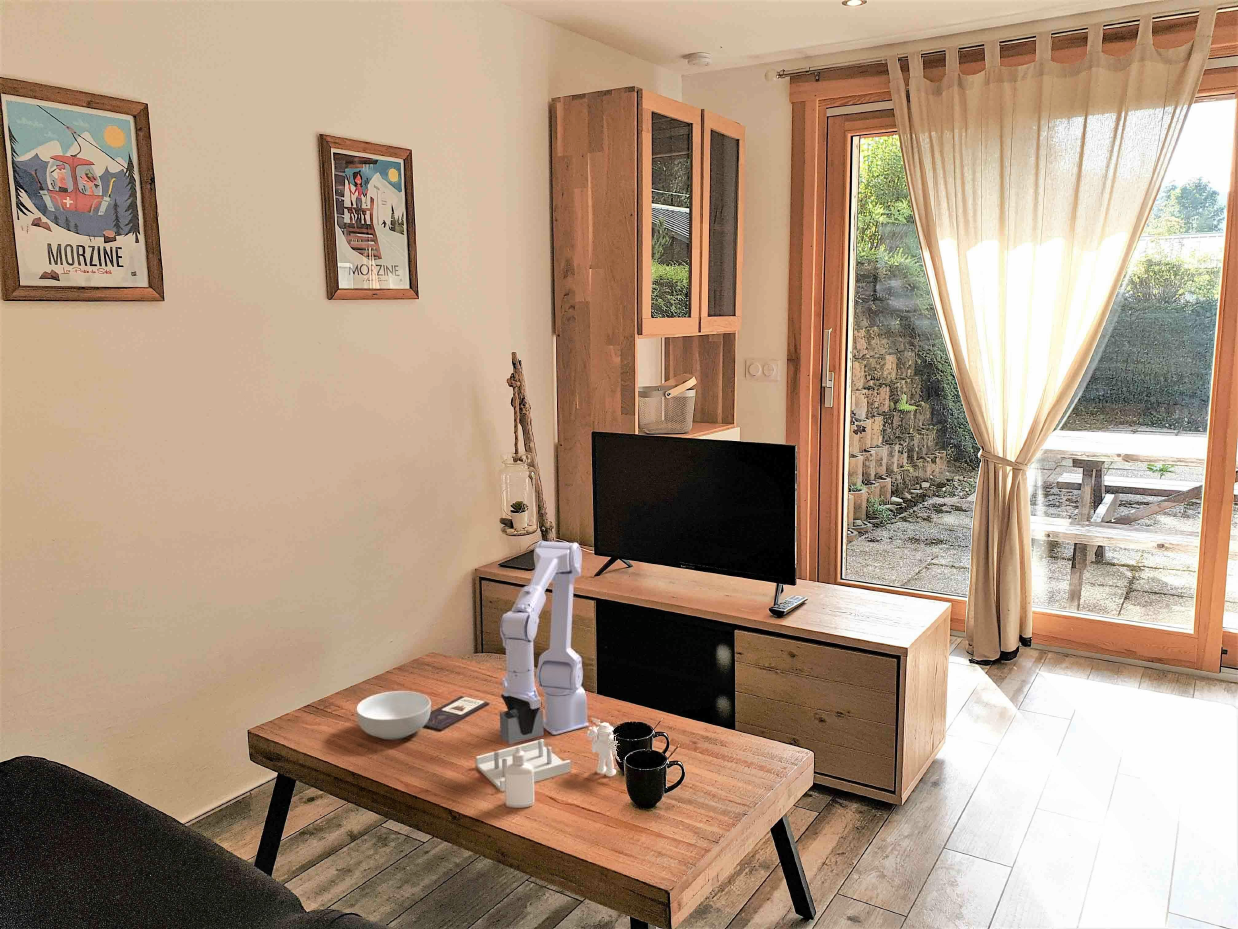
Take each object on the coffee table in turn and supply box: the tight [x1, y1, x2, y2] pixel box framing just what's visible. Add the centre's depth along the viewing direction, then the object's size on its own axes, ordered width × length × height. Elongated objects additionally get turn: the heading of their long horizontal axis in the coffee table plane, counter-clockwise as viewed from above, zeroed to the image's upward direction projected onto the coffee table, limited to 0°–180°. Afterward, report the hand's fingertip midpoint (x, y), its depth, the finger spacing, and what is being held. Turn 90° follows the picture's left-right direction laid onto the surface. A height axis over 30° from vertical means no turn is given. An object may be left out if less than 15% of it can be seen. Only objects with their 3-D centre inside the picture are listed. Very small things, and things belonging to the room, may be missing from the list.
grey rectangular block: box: [499, 708, 544, 745], centre depth 201 cm, size 8×4×6 cm, turn 121°
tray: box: [475, 738, 572, 793], centre depth 203 cm, size 16×13×4 cm
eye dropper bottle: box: [504, 745, 535, 809], centre depth 187 cm, size 4×6×12 cm
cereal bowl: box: [355, 690, 432, 741], centre depth 221 cm, size 17×17×7 cm
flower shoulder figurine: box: [586, 717, 621, 777], centre depth 200 cm, size 9×4×12 cm, turn 52°
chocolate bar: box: [422, 695, 490, 732], centre depth 232 cm, size 9×1×18 cm
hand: (522, 729), depth 202 cm, fingers closed on grey rectangular block, 4 cm apart
